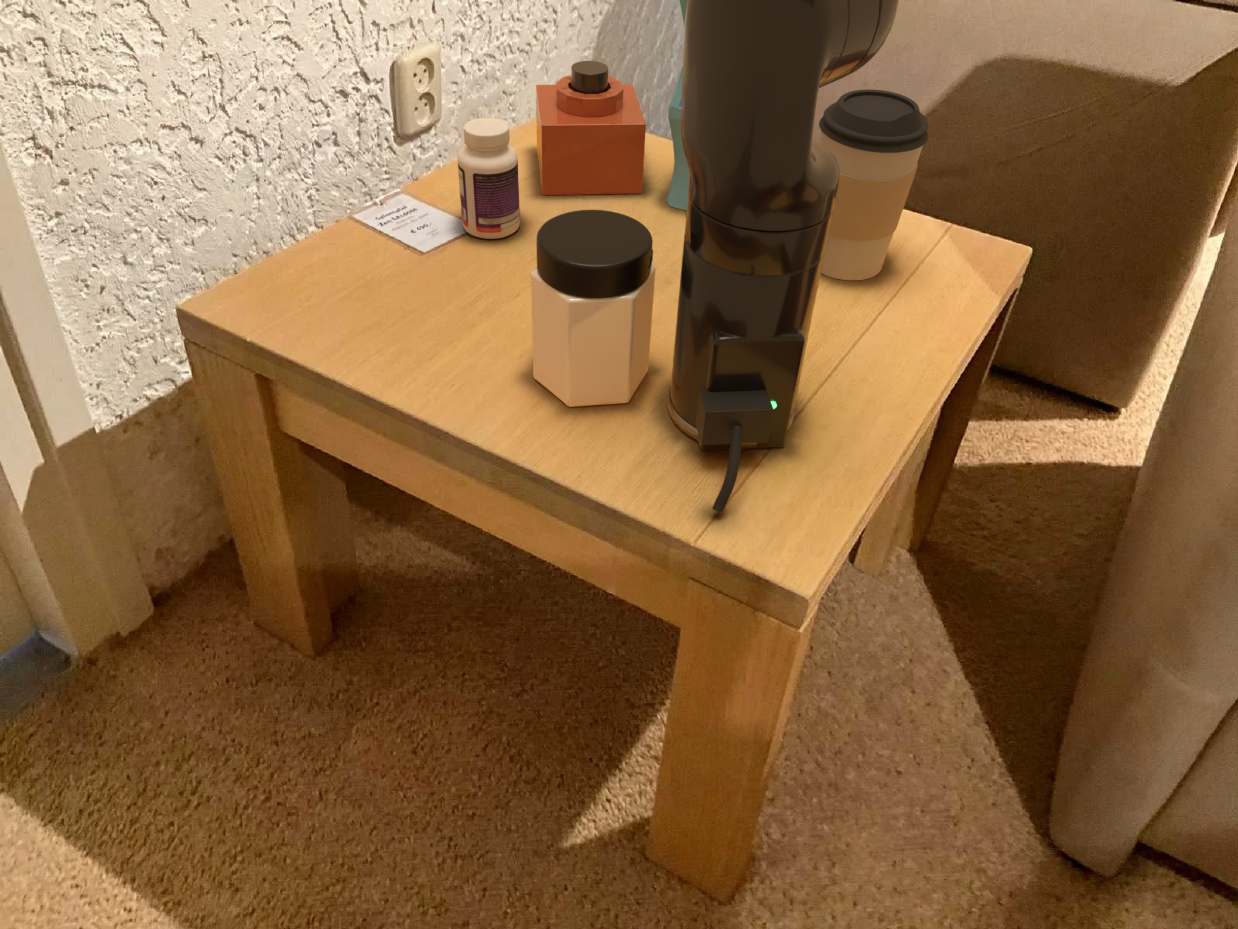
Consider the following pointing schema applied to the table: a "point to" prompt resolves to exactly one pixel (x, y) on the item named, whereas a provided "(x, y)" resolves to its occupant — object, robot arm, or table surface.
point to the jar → (592, 306)
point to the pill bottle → (488, 180)
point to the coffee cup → (869, 176)
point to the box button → (589, 77)
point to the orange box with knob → (589, 139)
